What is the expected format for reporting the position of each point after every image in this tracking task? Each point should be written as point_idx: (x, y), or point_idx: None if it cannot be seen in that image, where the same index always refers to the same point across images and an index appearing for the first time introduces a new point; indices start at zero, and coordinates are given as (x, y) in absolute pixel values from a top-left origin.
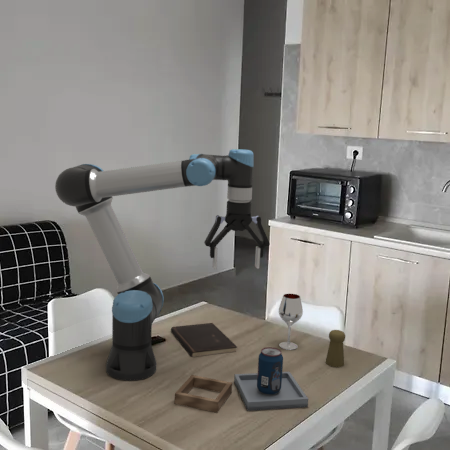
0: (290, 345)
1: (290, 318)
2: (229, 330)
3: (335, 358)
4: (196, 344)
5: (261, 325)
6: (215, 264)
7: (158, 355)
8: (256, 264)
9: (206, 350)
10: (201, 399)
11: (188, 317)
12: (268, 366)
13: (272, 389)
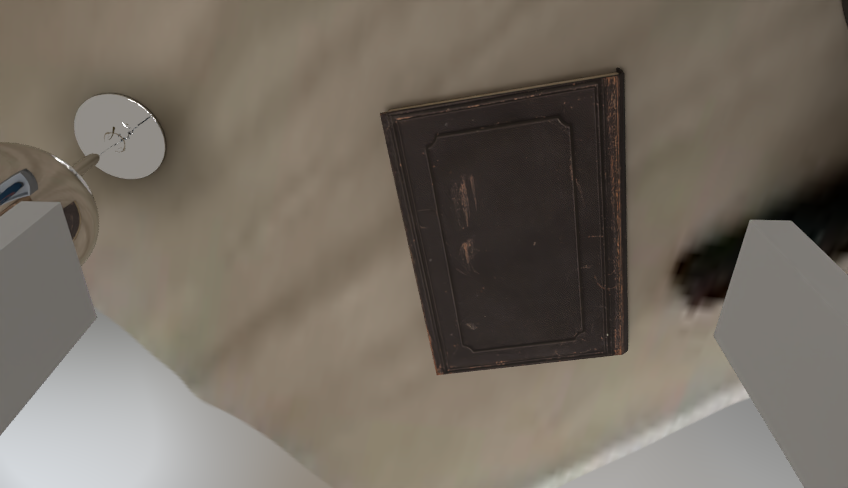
0: (108, 129)
1: (26, 145)
2: (370, 325)
3: None
4: (575, 163)
5: (222, 356)
6: (813, 261)
7: (771, 107)
8: (39, 271)
9: (546, 87)
10: None
11: (511, 451)
12: None
13: None
